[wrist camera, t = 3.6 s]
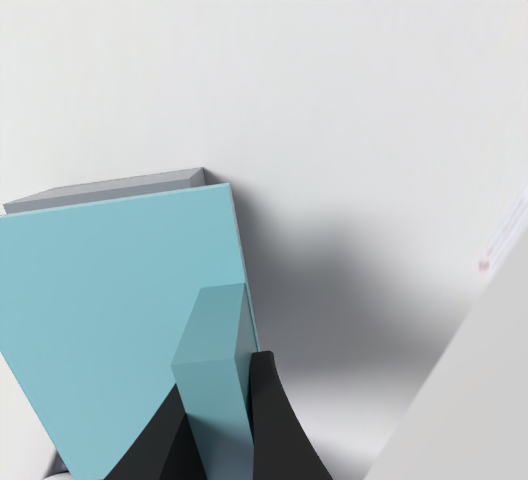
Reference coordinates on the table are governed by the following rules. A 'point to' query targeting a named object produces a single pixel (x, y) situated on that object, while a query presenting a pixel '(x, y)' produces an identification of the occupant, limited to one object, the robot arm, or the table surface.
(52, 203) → the parts tub
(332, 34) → the table surface
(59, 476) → the supplement tub
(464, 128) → the table surface
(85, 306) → the lid
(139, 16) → the table surface
